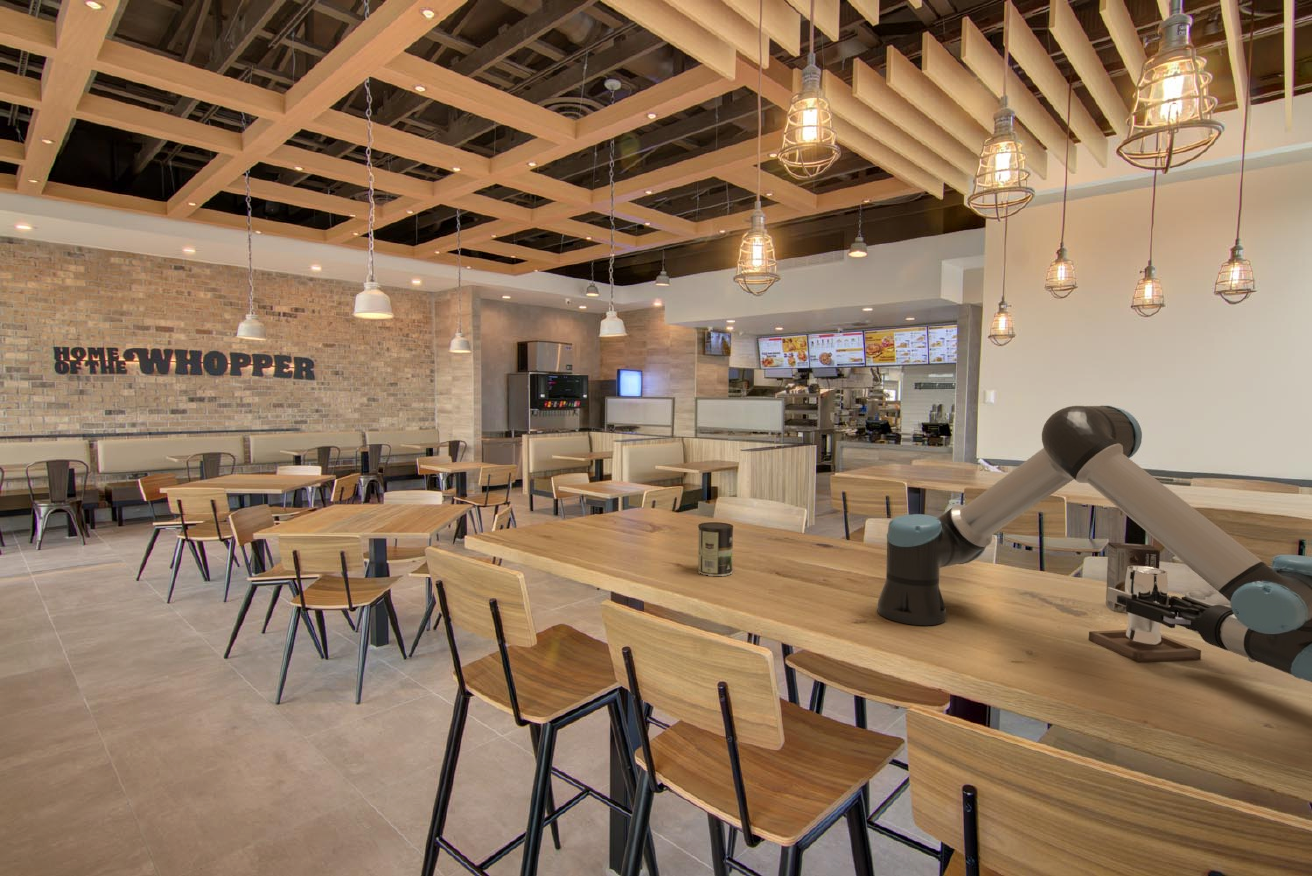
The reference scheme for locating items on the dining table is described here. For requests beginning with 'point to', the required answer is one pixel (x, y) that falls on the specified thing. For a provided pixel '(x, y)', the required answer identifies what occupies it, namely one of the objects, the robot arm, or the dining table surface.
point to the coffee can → (715, 548)
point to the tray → (1144, 647)
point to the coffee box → (1121, 559)
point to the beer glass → (1149, 588)
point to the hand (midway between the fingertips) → (1124, 593)
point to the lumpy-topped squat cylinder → (1208, 598)
